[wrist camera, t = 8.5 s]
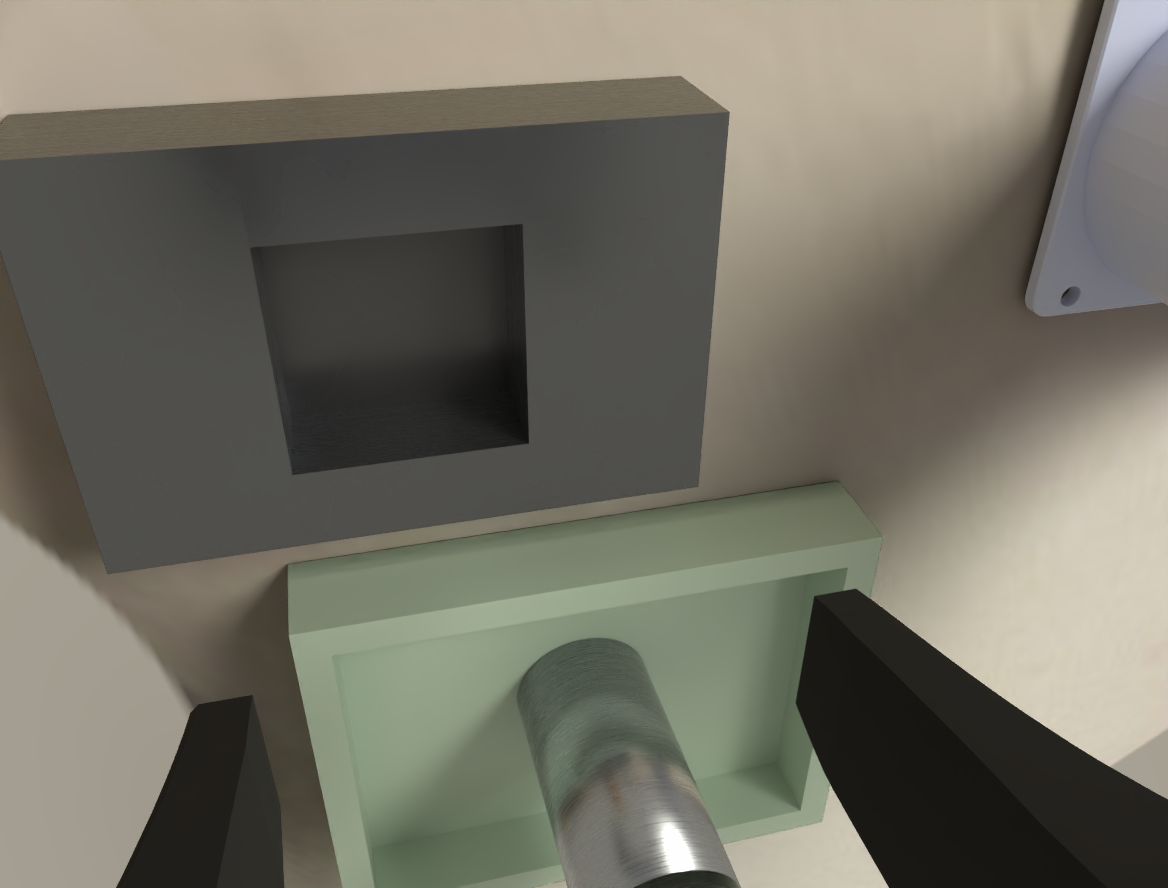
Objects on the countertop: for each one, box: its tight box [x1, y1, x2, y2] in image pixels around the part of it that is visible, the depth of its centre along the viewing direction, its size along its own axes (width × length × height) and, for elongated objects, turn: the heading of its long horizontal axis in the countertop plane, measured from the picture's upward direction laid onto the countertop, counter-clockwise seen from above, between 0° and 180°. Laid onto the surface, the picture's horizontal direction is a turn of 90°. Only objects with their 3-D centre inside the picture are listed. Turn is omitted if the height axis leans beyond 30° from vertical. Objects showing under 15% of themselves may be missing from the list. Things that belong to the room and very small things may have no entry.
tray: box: [288, 481, 883, 888], centre depth 27 cm, size 14×11×2 cm
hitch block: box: [0, 76, 730, 574], centre depth 19 cm, size 12×8×3 cm, turn 90°
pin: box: [517, 638, 741, 888], centre depth 24 cm, size 4×4×8 cm
